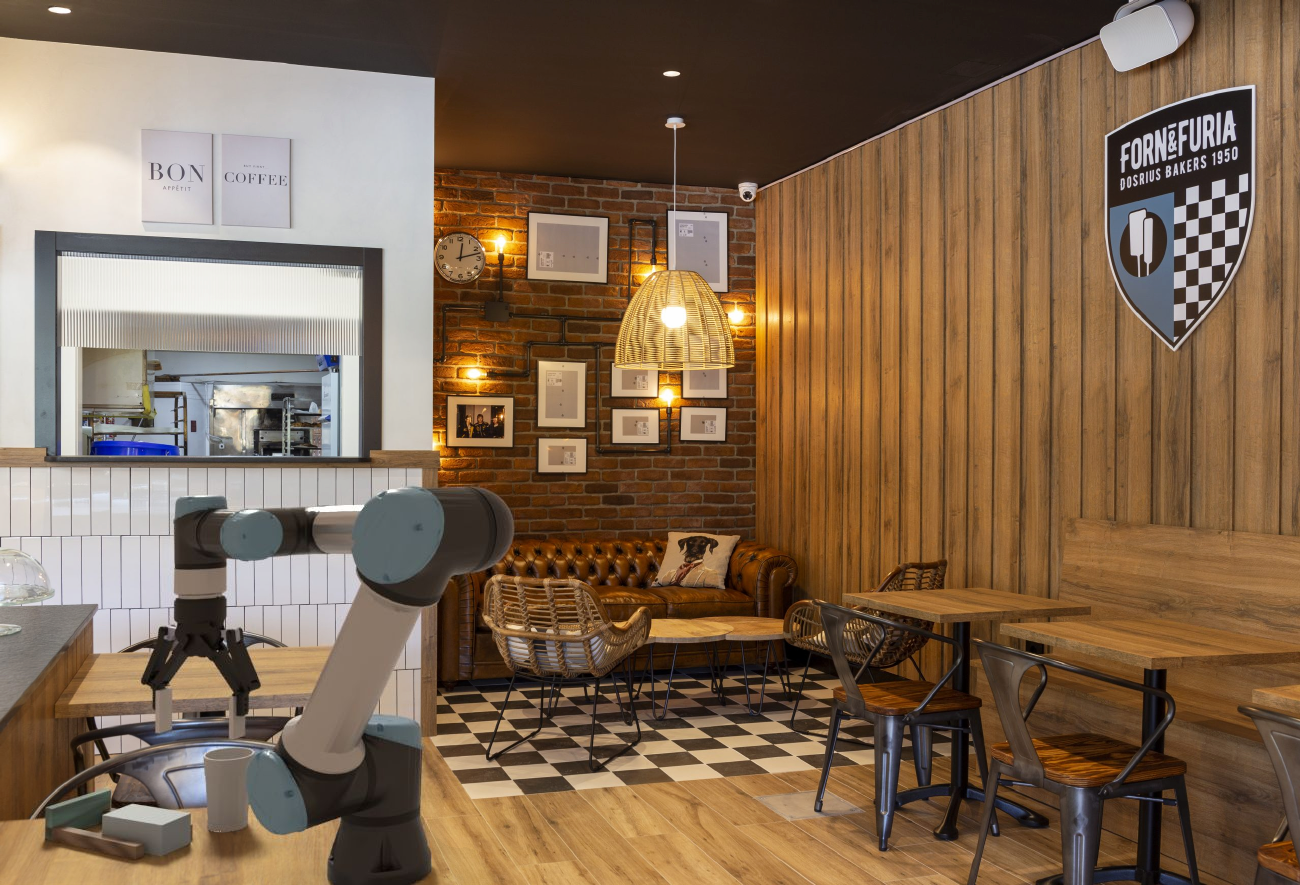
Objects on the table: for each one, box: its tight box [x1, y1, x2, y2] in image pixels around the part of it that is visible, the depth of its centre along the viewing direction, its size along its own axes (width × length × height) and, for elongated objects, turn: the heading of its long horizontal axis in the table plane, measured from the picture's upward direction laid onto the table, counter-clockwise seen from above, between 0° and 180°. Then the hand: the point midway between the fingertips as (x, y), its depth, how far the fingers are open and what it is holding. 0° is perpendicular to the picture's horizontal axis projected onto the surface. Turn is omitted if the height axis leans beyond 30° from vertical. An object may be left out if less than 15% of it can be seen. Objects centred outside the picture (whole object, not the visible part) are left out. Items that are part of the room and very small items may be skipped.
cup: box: [202, 746, 256, 833], centre depth 182 cm, size 8×8×12 cm
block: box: [101, 803, 192, 857], centre depth 173 cm, size 12×6×5 cm, turn 70°
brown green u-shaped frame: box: [44, 788, 194, 861], centre depth 175 cm, size 20×11×5 cm, turn 66°
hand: (199, 734), depth 167 cm, fingers open, 13 cm apart
